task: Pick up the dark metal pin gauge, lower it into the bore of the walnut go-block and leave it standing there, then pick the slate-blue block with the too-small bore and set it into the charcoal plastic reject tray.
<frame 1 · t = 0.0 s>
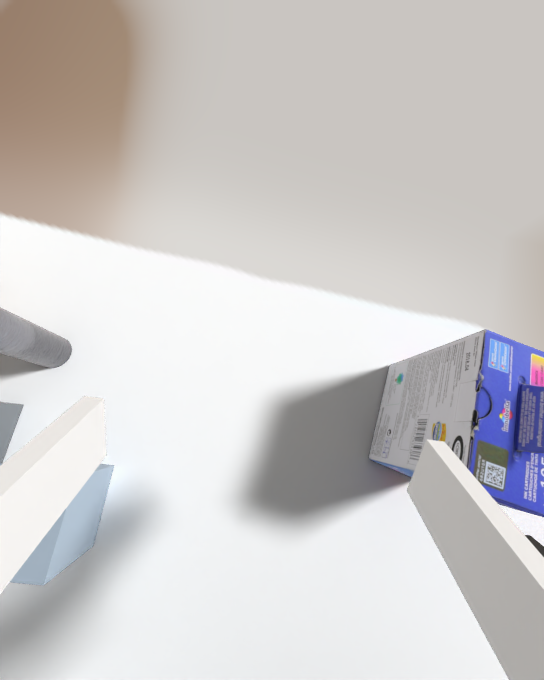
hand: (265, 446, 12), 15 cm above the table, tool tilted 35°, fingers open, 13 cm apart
pin gauge: (54, 352, 27), on the table
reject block: (67, 499, 24), on the table
ink cartridge box: (403, 420, 28), on the table
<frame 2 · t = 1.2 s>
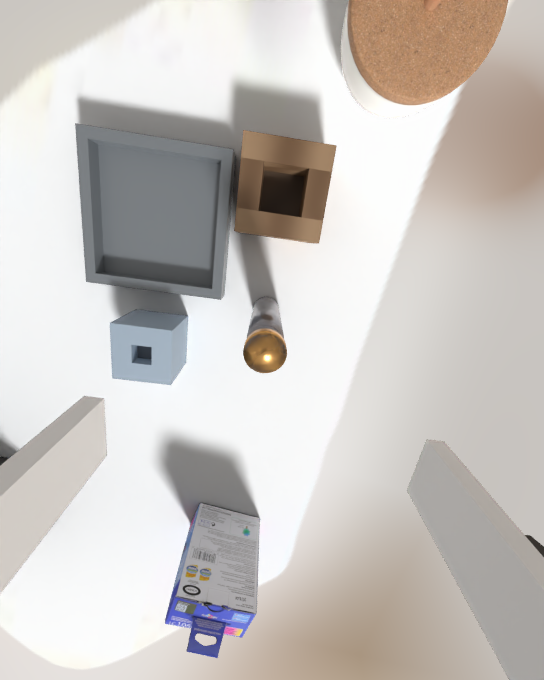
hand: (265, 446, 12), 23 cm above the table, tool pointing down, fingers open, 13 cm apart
pin gauge: (266, 309, 34), on the table
reject tray: (163, 221, 30), on the table
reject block: (162, 336, 35), on the table
lidded jar: (384, 69, 27), on the table
ink cartridge box: (224, 520, 45), on the table
go block: (281, 197, 30), on the table
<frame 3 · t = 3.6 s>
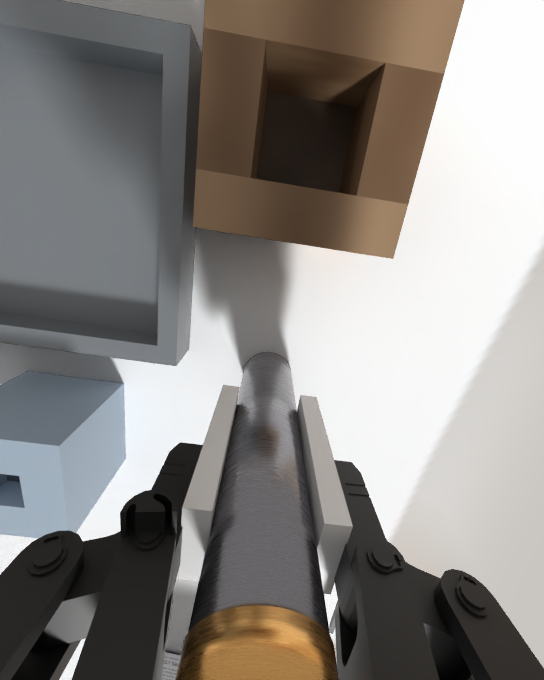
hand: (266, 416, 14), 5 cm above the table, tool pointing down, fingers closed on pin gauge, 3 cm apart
pin gauge: (267, 374, 18), on the table, touching gripper
reject tray: (61, 206, 15), on the table
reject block: (80, 416, 19), on the table
ink cartridge box: (200, 669, 29), on the table
go block: (301, 158, 14), on the table
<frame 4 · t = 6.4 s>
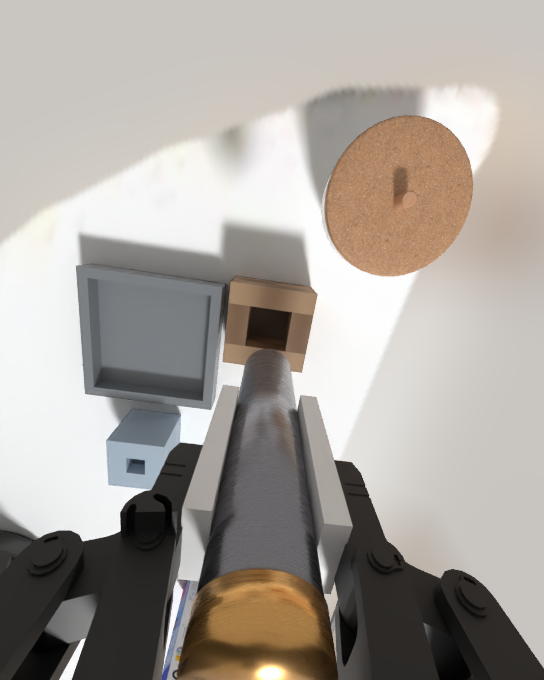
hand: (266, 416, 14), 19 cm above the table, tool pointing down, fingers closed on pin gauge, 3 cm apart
pin gauge: (267, 370, 19), point 14 cm above the table, touching gripper
reject tray: (158, 336, 32), on the table
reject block: (156, 431, 37), on the table
lidded jar: (365, 212, 29), on the table
ink cartridge box: (215, 587, 47), on the table
go block: (268, 317, 32), on the table
when the fingers open (6 cm above the table, at t = 9.3 s): pin gauge stays where it is, resting on go block.
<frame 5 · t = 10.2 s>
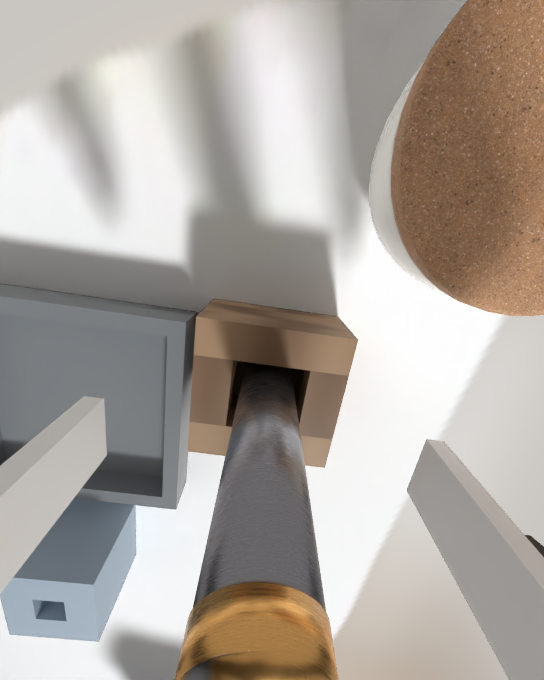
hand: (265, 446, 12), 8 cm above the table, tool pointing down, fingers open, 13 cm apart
pin gauge: (267, 371, 19), point 1 cm above the table, touching go block
reject tray: (91, 393, 20), on the table
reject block: (100, 525, 25), on the table
lidded jar: (437, 190, 16), on the table
go block: (267, 364, 20), on the table
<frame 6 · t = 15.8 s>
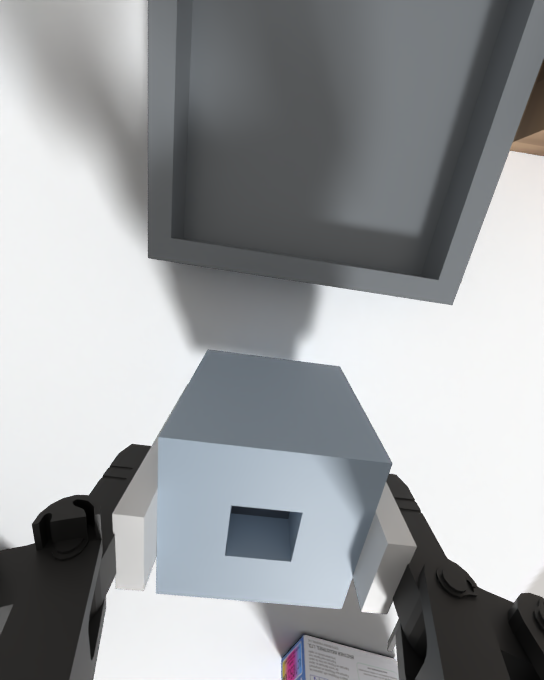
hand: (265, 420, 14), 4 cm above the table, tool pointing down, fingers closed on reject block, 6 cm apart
reject tray: (326, 119, 13), on the table
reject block: (265, 414, 14), point 4 cm above the table, touching gripper
ink cartridge box: (336, 655, 28), on the table
when the fingers open (2 cm above the table, at t = 20.6 s): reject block stays where it is, resting on reject tray.
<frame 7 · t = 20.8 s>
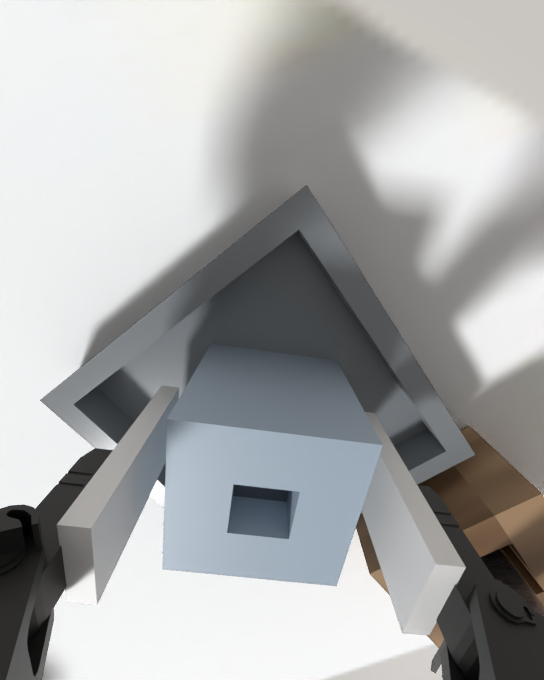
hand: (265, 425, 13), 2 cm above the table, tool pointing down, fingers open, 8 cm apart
pin gauge: (446, 519, 17), point 1 cm above the table, touching go block
reject tray: (266, 399, 15), on the table
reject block: (266, 406, 15), point 1 cm above the table, touching reject tray
go block: (435, 502, 18), on the table
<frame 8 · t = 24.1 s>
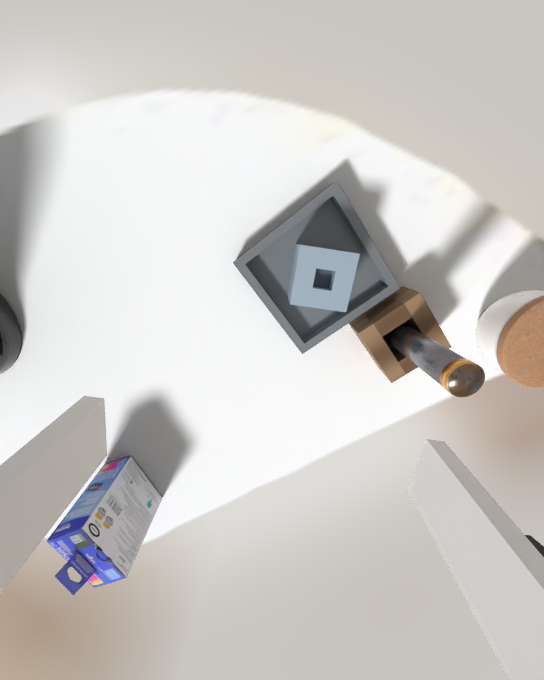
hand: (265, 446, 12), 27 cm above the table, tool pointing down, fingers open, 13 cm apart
pin gauge: (393, 331, 37), point 1 cm above the table, touching go block
reject tray: (314, 273, 36), on the table
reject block: (315, 273, 35), point 1 cm above the table, touching reject tray
lidded jar: (498, 323, 38), on the table
ink cartridge box: (133, 480, 47), on the table
go block: (390, 329, 38), on the table
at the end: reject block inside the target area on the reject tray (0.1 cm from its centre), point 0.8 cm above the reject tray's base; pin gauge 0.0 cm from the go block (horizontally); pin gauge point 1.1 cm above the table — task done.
